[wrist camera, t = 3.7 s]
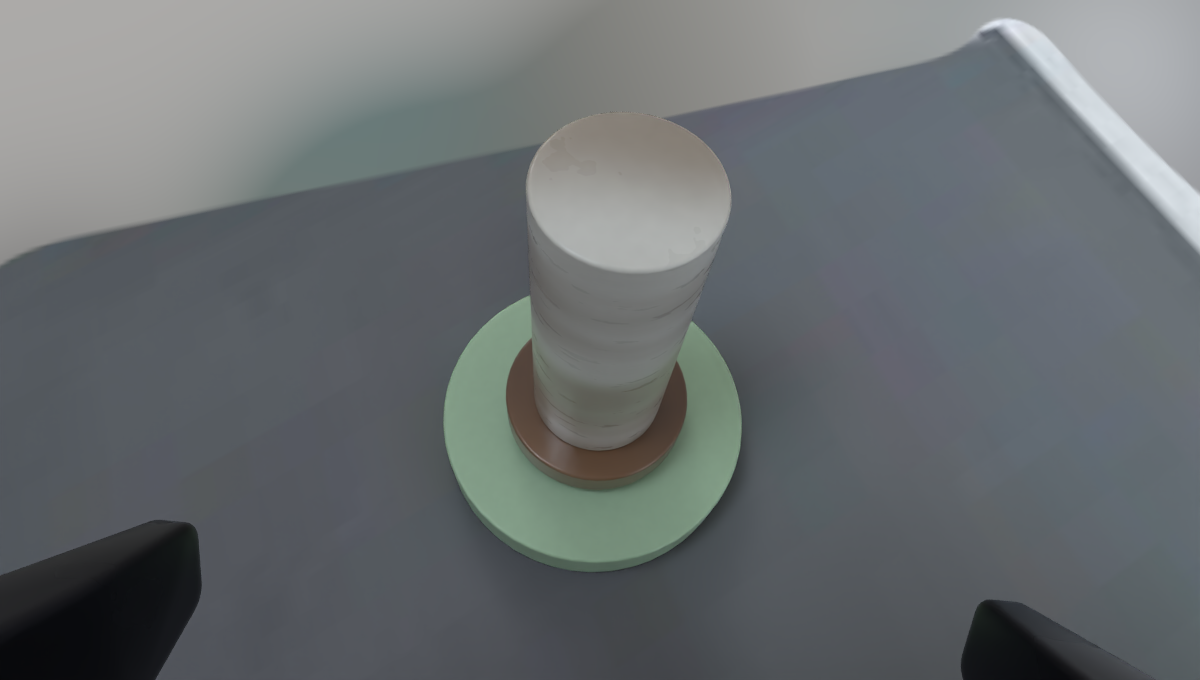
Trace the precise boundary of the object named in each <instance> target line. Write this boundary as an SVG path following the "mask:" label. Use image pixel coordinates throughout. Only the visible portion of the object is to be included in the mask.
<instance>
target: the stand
mask: <svg viewBox="0 0 1200 680" xmlns="http://www.w3.org/2000/svg"><path fill="white" fill-rule="evenodd" d="M531 338H532V328H531V303H530V296H527V297H525V298H523V299H521V300H519V301H517V302H515V303H513V304H511V305H510V306H508V307H507V308H505V309H504V310H502V311H501V312H500V313H498V314H497V315H495V316H494V317H493V318H492V319H491V320H490V321H489V322H487V323H486V324H485V325H484V326H483V327H482V328H481V329H480V330H479V331H478V333H477V334H476V335H475V336H474V337H473V338H472V339H471V341H470V342H469V344H468V345H467V347H466V348H465V350H464V351H463V353H462V354H461V356H460V358H459V360H458V362H457V364H456V366H455V368H454V370H453V372H452V375H451V378H450V381H449V384H448V387H447V392H446V398H445V403H444V419H443V427H444V437H445V445H446V449H447V453H448V456H449V460H450V464H451V466H452V469H453V471H454V474H455V476H456V479H457V481H458V484H459V486H460V489H461V491H462V493H463V495H464V497H465V499H466V500H467V502H468V504H469V505H470V507H471V509H472V510H473V512H474V513H475V514H476V515H477V517H478V518H479V519H480V520H481V522H482V523H483V524H484V525H485V526H486V527H487V528H488V529H489V530H490V531H491V532H492V533H493V534H494V535H495V536H496V537H497V538H498V539H500V540H501V541H503V542H504V543H505V544H507V545H508V546H510V547H511V548H512V549H514V550H515V551H517V552H519V553H521V554H523V555H525V556H527V557H529V558H531V559H533V560H535V561H538V562H541V563H544V564H546V565H549V566H552V567H557V568H561V569H566V570H571V571H582V572H604V571H614V570H620V569H625V568H630V567H633V566H636V565H639V564H642V563H645V562H648V561H651V560H653V559H654V558H656V557H658V556H660V555H662V554H664V553H666V552H668V551H669V550H671V549H672V548H674V547H675V546H677V545H678V544H679V543H681V542H682V541H684V540H685V539H686V538H687V537H688V536H689V535H690V534H691V533H692V532H693V531H694V530H695V529H696V528H698V526H699V525H700V524H701V523H702V521H703V520H704V519H705V518H706V516H707V515H708V514H709V513H710V511H711V510H712V509H713V508H714V506H715V505H716V504H717V503H718V502H719V500H720V498H721V496H722V495H723V493H724V491H725V490H726V488H727V486H728V485H729V482H730V480H731V477H732V475H733V472H734V470H735V467H736V463H737V459H738V455H739V451H740V445H741V435H742V420H741V409H740V403H739V397H738V393H737V390H736V387H735V384H734V381H733V378H732V376H731V373H730V371H729V369H728V367H727V365H726V363H725V361H724V359H723V358H722V356H721V355H720V353H719V351H718V350H717V348H716V347H715V345H714V344H713V343H712V342H711V341H710V339H709V338H708V337H707V336H706V334H705V333H704V332H703V331H702V330H701V329H700V328H699V327H698V326H696V325H695V324H694V323H693V322H692V321H691V322H690V325H689V328H688V331H687V333H686V336H685V339H684V341H683V344H682V347H681V350H680V352H679V355H678V358H677V362H678V363H679V366H680V368H681V370H682V373H683V376H684V379H685V383H686V389H687V411H686V417H685V420H684V424H683V427H682V429H681V431H680V433H679V436H678V438H677V440H676V442H675V444H674V446H673V448H672V449H671V451H670V453H669V454H668V456H667V457H666V458H665V459H664V460H663V462H662V463H661V464H660V465H659V466H658V467H656V468H655V469H654V470H653V471H652V472H651V473H649V474H648V475H646V476H644V477H643V478H641V479H639V480H637V481H635V482H633V483H631V484H628V485H625V486H621V487H617V488H612V489H603V490H591V489H582V488H577V487H572V486H569V485H566V484H563V483H560V482H558V481H556V480H554V479H552V478H550V477H549V476H547V475H546V474H544V473H543V472H541V471H540V470H539V469H537V468H536V467H535V466H534V465H533V464H532V463H531V462H530V461H529V460H528V459H527V458H526V456H525V455H524V454H523V453H522V451H521V450H520V448H519V446H518V445H517V443H516V441H515V439H514V437H513V434H512V432H511V428H510V425H509V420H508V413H507V406H506V385H507V379H508V375H509V372H510V368H511V366H512V364H513V362H514V360H515V358H516V356H517V355H518V353H519V351H520V350H521V349H522V347H523V346H524V345H525V344H526V343H527V341H528V340H530V339H531Z"/></svg>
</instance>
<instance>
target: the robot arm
mask: <svg viewBox="0 0 1200 680" xmlns="http://www.w3.org/2000/svg"><path fill="white" fill-rule="evenodd" d="M201 586H202V582H201V568H200V555H199V541H198V534H197V531H196V529H195V527H194V526H193V525H191V524H190V523H186V522H176V521H165V520H153V521H150V522H147V523H144V524H142V525H139V526H136V527H133V528H131V529H128V530H125V531H122V532H120V533H117V534H114V535H111V536H109V537H106V538H103V539H100V540H98V541H95V542H92V543H89V544H87V545H84V546H81V547H78V548H76V549H73V550H70V551H67V552H65V553H62V554H59V555H56V556H54V557H51V558H48V559H45V560H42V561H40V562H37V563H34V564H31V565H29V566H26V567H23V568H20V569H18V570H15V571H12V572H9V573H7V574H4V575H1V576H0V680H155V679H156V677H157V676H158V674H159V672H160V670H161V669H162V667H163V665H164V663H165V662H166V660H167V658H168V656H169V655H170V653H171V651H172V649H173V648H174V646H175V644H176V642H177V640H178V639H179V637H180V635H181V633H182V632H183V630H184V628H185V626H186V625H187V623H188V621H189V619H190V618H191V616H192V614H193V612H194V611H195V609H196V607H197V604H198V601H199V598H200V594H201ZM961 672H962V677H963V680H1156V679H1154V678H1152V677H1150V676H1149V675H1147V674H1145V673H1143V672H1142V671H1140V670H1138V669H1136V668H1135V667H1133V666H1131V665H1129V664H1128V663H1126V662H1124V661H1122V660H1121V659H1119V658H1117V657H1115V656H1114V655H1112V654H1110V653H1108V652H1107V651H1105V650H1103V649H1101V648H1100V647H1098V646H1096V645H1094V644H1093V643H1091V642H1089V641H1087V640H1086V639H1084V638H1082V637H1080V636H1079V635H1077V634H1075V633H1073V632H1072V631H1070V630H1068V629H1066V628H1065V627H1063V626H1061V625H1059V624H1058V623H1056V622H1054V621H1052V620H1051V619H1049V618H1047V617H1045V616H1044V615H1042V614H1040V613H1038V612H1037V611H1035V610H1033V609H1031V608H1029V607H1028V606H1026V605H1024V604H1022V603H1018V602H1011V601H1000V600H985V601H983V602H981V603H980V604H979V605H978V607H977V609H976V611H975V614H974V618H973V621H972V624H971V627H970V631H969V634H968V637H967V641H966V644H965V647H964V651H963V654H962V659H961Z"/></svg>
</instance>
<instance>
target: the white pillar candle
mask: <svg viewBox="0 0 1200 680" xmlns="http://www.w3.org/2000/svg"><path fill="white" fill-rule="evenodd" d="M526 203H527V228H528V253H529V278H530V303H531V328H532V338H531V339H530V340H528V341H527V343H526V344H525V345H524V346H523V347H522V349H521V350H520V351H519V353H518V355H517V356H516V358H515V360H514V362H513V364H512V366H511V368H510V372H509V375H508V379H507V385H506V406H507V413H508V420H509V425H510V428H511V432H512V434H513V437H514V439H515V441H516V443H517V445H518V446H519V448H520V450H521V451H522V453H523V454H524V455H525V456H526V458H527V459H528V460H529V461H530V462H531V463H532V464H533V465H534V466H535V467H536V468H537V469H539V470H540V471H541V472H543V473H544V474H546V475H547V476H549V477H550V478H552V479H554V480H556V481H558V482H560V483H563V484H566V485H569V486H572V487H577V488H582V489H591V490H603V489H612V488H617V487H621V486H625V485H628V484H631V483H633V482H635V481H637V480H639V479H641V478H643V477H644V476H646V475H648V474H649V473H651V472H652V471H653V470H654V469H655V468H656V467H658V466H659V465H660V464H661V463H662V462H663V460H664V459H665V458H666V457H667V456H668V454H669V453H670V451H671V449H672V448H673V446H674V444H675V442H676V440H677V438H678V436H679V433H680V431H681V429H682V427H683V424H684V420H685V417H686V411H687V389H686V383H685V379H684V376H683V373H682V370H681V368H680V366H679V363H678V362H677V358H678V355H679V352H680V350H681V347H682V344H683V341H684V339H685V336H686V333H687V331H688V328H689V325H690V322H691V320H692V317H693V314H694V312H695V309H696V306H697V304H698V301H699V298H700V295H701V293H702V290H703V287H704V285H705V282H706V279H707V276H708V274H709V271H710V268H711V266H712V263H713V260H714V257H715V255H716V252H717V249H718V247H719V244H720V241H721V238H722V236H723V233H724V230H725V228H726V225H727V222H728V219H729V215H730V210H731V190H730V185H729V180H728V178H727V175H726V172H725V170H724V168H723V166H722V164H721V162H720V160H719V159H718V158H717V156H716V155H715V154H714V152H713V151H712V150H711V149H710V148H709V147H708V146H707V145H706V144H705V143H704V142H703V141H702V140H701V139H699V138H698V137H697V136H696V135H694V134H693V133H691V132H690V131H688V130H687V129H685V128H683V127H681V126H679V125H677V124H675V123H673V122H670V121H668V120H665V119H662V118H659V117H655V116H652V115H647V114H642V113H634V112H609V113H601V114H596V115H591V116H588V117H584V118H581V119H579V120H576V121H574V122H572V123H569V124H568V125H566V126H564V127H562V128H561V129H559V130H558V131H556V132H555V133H554V134H553V135H551V136H550V137H549V138H548V139H547V140H546V141H545V142H544V143H543V144H542V146H541V147H540V148H539V150H538V151H537V153H536V154H535V156H534V158H533V160H532V162H531V164H530V167H529V170H528V173H527V180H526Z"/></svg>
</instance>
